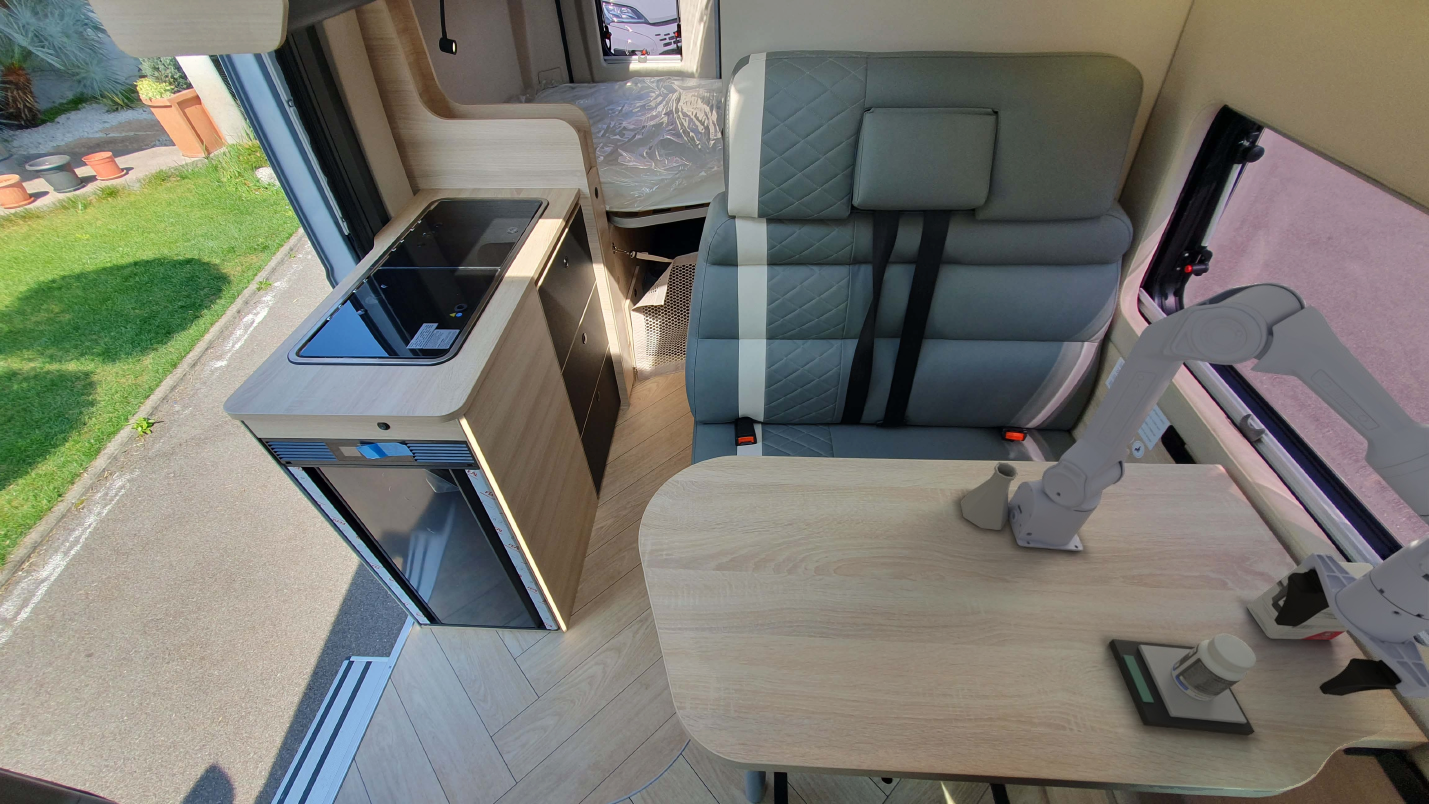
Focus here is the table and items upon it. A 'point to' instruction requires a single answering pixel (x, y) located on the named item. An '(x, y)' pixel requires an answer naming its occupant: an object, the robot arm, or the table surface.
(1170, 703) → the scale
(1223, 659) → the pill bottle
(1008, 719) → the table surface
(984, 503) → the flask
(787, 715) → the table surface
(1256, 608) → the ink box
